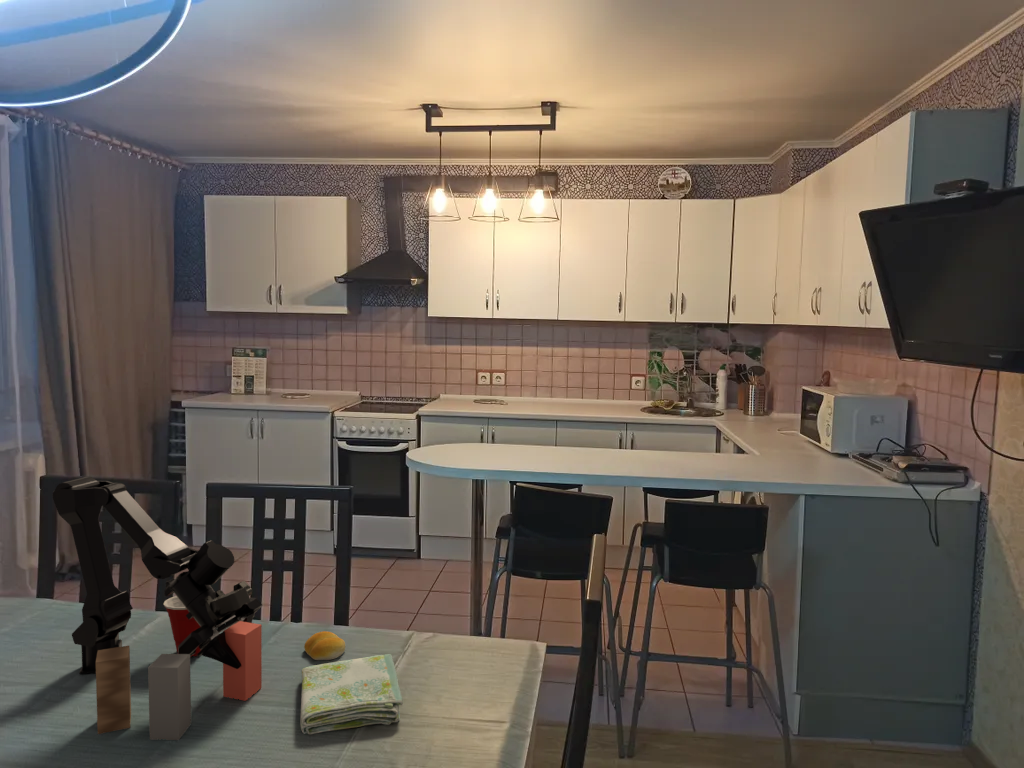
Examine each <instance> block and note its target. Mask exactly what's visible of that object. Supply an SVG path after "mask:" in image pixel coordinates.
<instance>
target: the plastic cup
mask: <svg viewBox="0 0 1024 768" xmlns="http://www.w3.org/2000/svg"><path fill="white" fill-rule="evenodd" d="M163 606H164V608H165V609H166V613H167V614H168V618H169V622H170V626H171V627H170V628H171V633H172V637H173V640H174V644H175V649H176V652H177V654H179V653H178V646H179V645H180V644H181V643H182V642H183V641H184V640H185V639H186V637H187V636H188V635H189V634H190V633H191V632H193V631H195V630H196V629H198V628H200V627H201V626H200V625H199V624H198V623H197V621H196V620H195V619H194V618H191V619H188V618H187V617H186V615H187V614H188V613H189V611H188V610H187V609H186V607H185V606H184V605H183V603H182V602H181V601H180V600H179V598H178V597H177V596H176V595H175V596H173V597H169V598H168V599H165V600H164V602H163ZM200 651H201V650H200V648H199V646H198V647H197V649H196V653H195V654H194V655H192V656H194V657H197V654H198V653H199V652H200ZM192 656H190V658H192Z"/></svg>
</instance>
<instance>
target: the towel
mask: <svg viewBox="0 0 1024 768" xmlns="http://www.w3.org/2000/svg"><path fill="white" fill-rule="evenodd" d="M399 685H400V684H399V680H398V674H397V670H396V666H395V663H394V659H393V657H392V654H391V653H386V654H379V655H378V654H377V655H371V656H367V657H360V658H351V659H345V660H339V661H333V662H332V661H331V662H328V663H327V662H326V663H321V664H317V665H316V664H315V665H309V666H307V667H304V668H302V669H301V695H300V698H301V700H300V703H301V705H300V716H299V717H300V721H299V722H300V730H301V732H302V734H304V735H305V734H307V735H313V734H320V733H326V732H333V731H337V730H347V729H354V728H359V727H363V726H370V725H376V724H382V725H387V726H389V725H391V724H392V723H398V722H400V720H401V717H400V707H399V706H402V705H403V697H402V692H401V688H400V686H399Z"/></svg>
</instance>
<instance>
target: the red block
mask: <svg viewBox="0 0 1024 768" xmlns="http://www.w3.org/2000/svg"><path fill="white" fill-rule="evenodd" d="M262 629H263V628H262V624H259V623H254V622H252V623H248V622H242V621H239V622H237V623H236V624H234V625H232V626H231V627H228V628H226V629H225V630H223V631H225V638H226V643H227V644H228V646H229V647H230V648H231V650H232V651H233V653H234V654H235V655H236V657H237V658H238V660H239V662H240V663H241V667H240V668H238V669H235V668H233V667H231V666H229V665H226V664H224V663H222V691H223V692H222V696H223V697H225V698H228V697H229V698H228V699H233V698H234V700H238V699H239V701H245V702H246V701H248V700H249V699H250V698H252V695H253V694H254V695H255V694H256V693H258V692H259V691H260V690H262V689H261V688H262V687H263V686H262V685H263V684H262V681H263V680H262V676H263V675H262V672H263V671H262V664H263V663H262V656H263V655H262V645H263V644H262V637H263V636H262V634H263V633H262V631H263V630H262ZM259 689H260V690H259ZM258 690H259V691H258ZM257 691H258V692H257ZM254 695H253V696H254ZM248 698H249V699H248Z"/></svg>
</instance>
